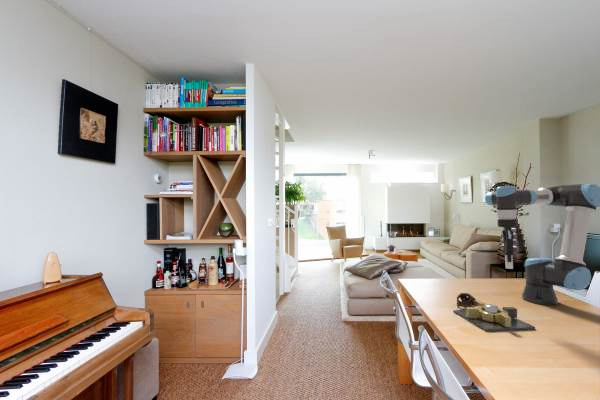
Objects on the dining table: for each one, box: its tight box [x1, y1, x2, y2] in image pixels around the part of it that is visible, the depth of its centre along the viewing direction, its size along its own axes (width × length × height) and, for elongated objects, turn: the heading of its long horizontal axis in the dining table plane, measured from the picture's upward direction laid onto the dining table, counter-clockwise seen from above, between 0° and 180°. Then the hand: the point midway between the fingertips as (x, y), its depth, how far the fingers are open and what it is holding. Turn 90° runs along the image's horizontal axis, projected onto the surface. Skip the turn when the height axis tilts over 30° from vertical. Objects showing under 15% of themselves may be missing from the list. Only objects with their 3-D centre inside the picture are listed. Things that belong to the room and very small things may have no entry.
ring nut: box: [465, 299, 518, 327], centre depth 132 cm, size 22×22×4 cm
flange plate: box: [453, 303, 536, 332], centre depth 132 cm, size 22×22×6 cm
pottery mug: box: [456, 292, 477, 308], centre depth 149 cm, size 12×10×8 cm
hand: (509, 268), depth 137 cm, fingers closed
